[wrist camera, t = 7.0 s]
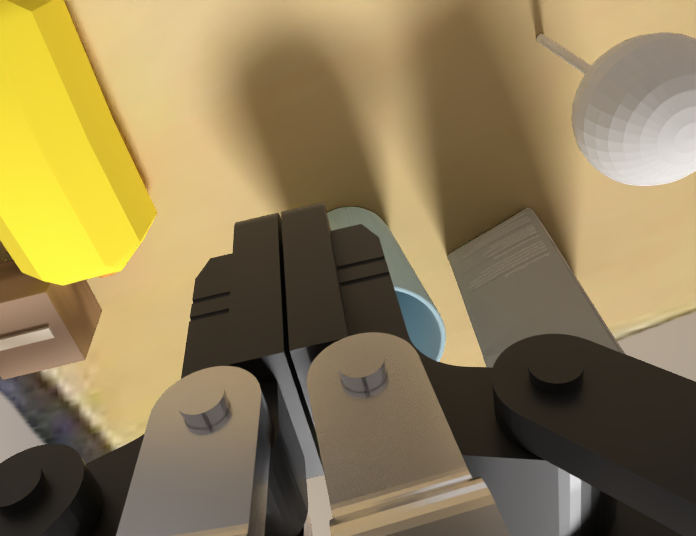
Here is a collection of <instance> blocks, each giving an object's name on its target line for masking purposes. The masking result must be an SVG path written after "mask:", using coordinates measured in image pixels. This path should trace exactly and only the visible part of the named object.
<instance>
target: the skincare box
mask: <svg viewBox="0 0 696 536" xmlns="http://www.w3.org/2000/svg"><path fill="white" fill-rule="evenodd" d="M447 258H448V260H449V262H450V265H451V267H452V270H453V273H454V275H455V278H456V281H457V284H458V287H459V289H460V292H461V295H462V298H463V301H464V304H465V307H466V309H467V312H468V315H469V318H470V321H471V324H472V326H473V329H474V332H475V335H476V337H477V340H478V343H479V346H480V348H481V351H482V354H483V358H484V361H485V364H486V366H487V367H489V368H493V365H494V363H495V361H496V359H497V358H498V357H499V355H500V354H501V353H502V352H503V351H504V350H505V349H506V348H508V347H509V346H510V345H512V344H514V343H516V342H517V341H520V340H522V339H525V338H528V337H532V336H535V335H542V334H567V335H572V336H577V337H581V338H584V339H587V340H590V341H592V342H595V343H597V344H600V345H603V346H605V347H608V348H610V349H613V350H615V351H618V352H620V353H623V354H625V353H624V351H623V350H622V349H621V347H620V346H619V344H618V343H617V341H616V340H615V338H614V336H613V335H612V333H611V332H610V330H609V329H608V327H607V326H606V324H605V322H604V321H603V319H602V318H601V316H600V315H599V313H598V311H597V310H596V308H595V307H594V305H593V304H592V302H591V300H590V299H589V297H588V296H587V294H586V293H585V291H584V289H583V288H582V286H581V285H580V283H579V282H578V280H577V278H576V277H575V275H574V273H573V272H572V270H571V268H570V267H569V265H568V264H567V262H566V260H565V259H564V257H563V255H562V254H561V252H560V251H559V249H558V248H557V246H556V244H555V243H554V241H553V240H552V238H551V236H550V235H549V233H548V232H547V230H546V229H545V227H544V226H543V224H542V223H541V221H540V220H539V218H538V217H537V215H536V214H535V212H534V211H533V209H531V208H526V209H524V210H522V211H521V212H519V213H518V214H516V215H514V216H512V217H511V218H509V219H507V220H506V221H504V222H502V223H501V224H499V225H497V226H496V227H494V228H492V229H491V230H489V231H487V232H485V233H484V234H482V235H480V236H478V237H477V238H475V239H473V240H471V241H470V242H468V243H467V244H465V245H463V246H461V247H460V248H458V249H456V250H455V251H453V252H451V253H450V254H449V255H448V256H447Z"/></svg>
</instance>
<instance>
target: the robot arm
mask: <svg viewBox="0 0 696 536" xmlns="http://www.w3.org/2000/svg"><path fill="white" fill-rule="evenodd" d="M281 219H282V220H281ZM190 319H191V321H190V322H189V328H188V335H187V342H186V349H185V355H184V362H183V369H182V376H181V380H179V381H177V382H176V383H175V384H173V385H172V386H171V387H169V388H168V389H167V390H166V391H165V392H164V393H163V394H162V395H161V397H160V398H159V399H158V400H157V402H156V404H155V405H154V407H153V409H152V411H151V414H150V417H149V420H148V424H147V427H146V431H145V434H143V435H142V436H140V437H139V438H137V439H136V440H134V441H132V442H130V443H128V444H126V445H124V446H122V447H120V448H118V449H116V450H114V451H112V452H110V453H108V454H106V455H103V456H101V457H99V458H97V459H95V460H93V461H91V462H89V463H87V464H86V463H85V462H84V460H83V459H82V457H81V456H80V455H79V453H78V452H77V451H76V450H74V449H73V448H71V447H69V446H66V445H62V444H45V445H41V446H36V447H33V448H30V449H27V450H24V451H22V452H20V453H17V454H15V455H14V456H12V457H10V458H8V459H6V460H5V461H4V462H2V463H0V536H312V535H313V533H312V524H311V521H310V518H309V515H308V497H307V483H306V479H308V478H313V477H317V476H322V475H325V480H326V484H327V489H328V495H329V500H330V505H331V510H332V516H333V519H331V520H330V532H331V536H696V382H694V381H692V380H690V379H687V378H684V377H682V376H679V375H677V374H674V373H672V372H669V371H666V370H664V369H661V368H658V367H656V366H654V365H651V364H648V363H646V362H643V361H641V360H638V359H636V358H633V357H630V356H628V355H626V354H623V353H620V352H618V351H615V350H613V349H610V348H608V347H605V346H603V345H600V344H597V343H595V342H592V341H590V340H587V339H584V338H581V337H577V336H572V335H567V334H542V335H535V336H532V337H528V338H525V339H522V340H520V341H517V342H516V343H514V344H512V345H510V346H509V347H508V348H506V349H505V350H504V351H503V352H502V353H501V354H500V355H499V357H498V358H497V359H496V361H495V363H494V365H493V368H489V367H461V366H453V365H448V364H444V363H441V362H438V361H435V360H433V359H431V358H429V357H427V356H426V355H424V354H423V353H421V352H420V351H419V350H418V349H417V348H416V347H415V346H414V344H413V343H412V342H411V340H410V338H409V335H408V332H407V329H406V325H405V322H404V319H403V316H402V312H401V309H400V306H399V302H398V299H397V296H396V292H395V289H394V286H393V282H392V279H391V276H390V273H389V269H388V266H387V263H386V260H385V256H384V253H383V249H382V246H381V243H380V239H379V237H378V236H377V235H375V234H374V233H373V232H371V231H370V230H369V229H368V228H366V227H365V226H364V225H362V224H358V225H354V226H350V227H345V228H341V229H337V230H332V231H331V228H330V223H329V219H328V215H327V211H326V208H325V204H324V202H322V203H318V204H314V205H309V206H305V207H301V208H296V209H292V210H288V211H283V212H281V217H280V215H279V213H275V214H271V215H266V216H262V217H258V218H253V219H249V220H245V221H240V222H236V223H235V226H234V241H233V253H232V254H228V255H223V256H219V257H215V258H210V260H209V261H208V263H207V264H206V265H205V267H204V268H203V269H202V271H201V272H200V274H199V275H198V276H197V278H196V279H195V286H194V293H193V304H192V307H191V314H190Z"/></svg>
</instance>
